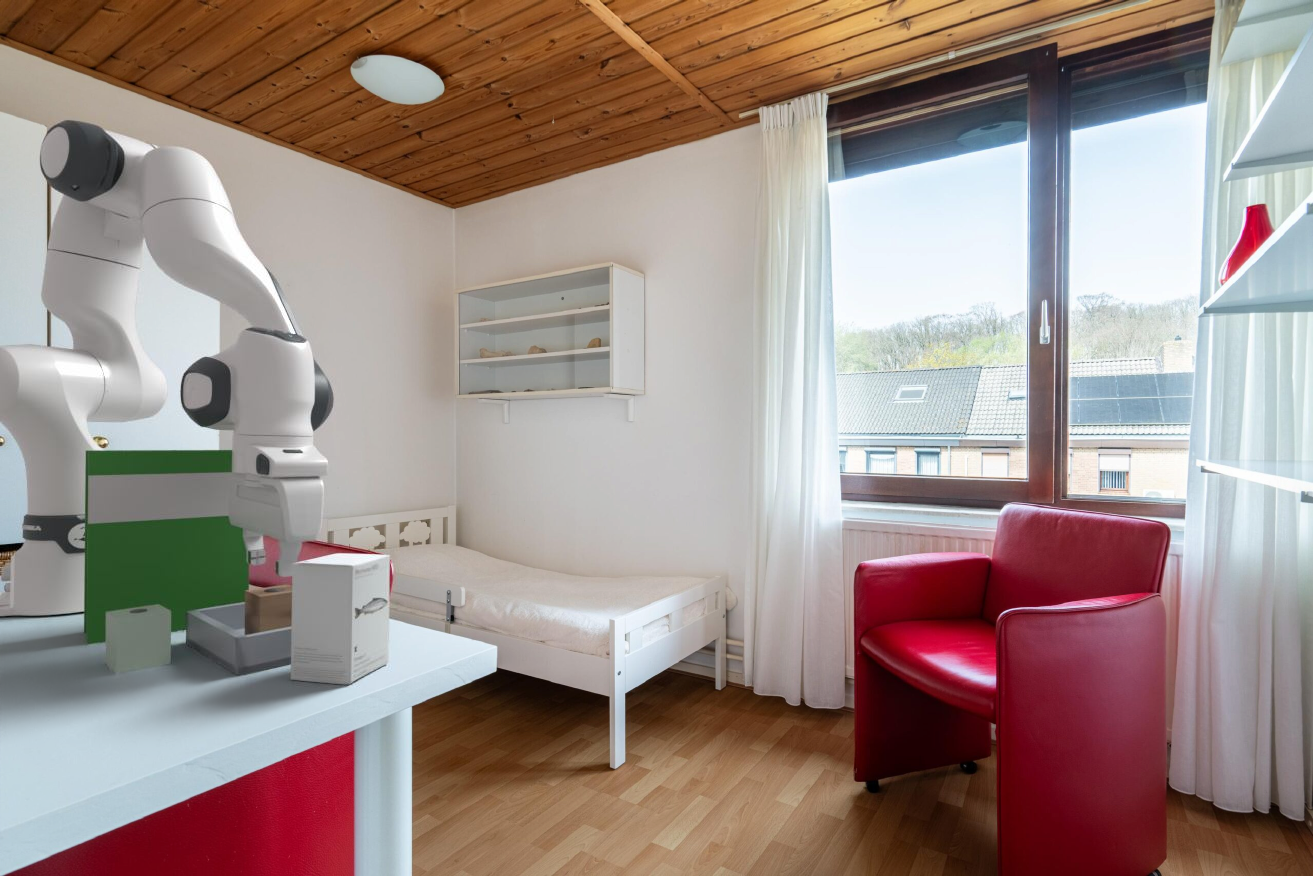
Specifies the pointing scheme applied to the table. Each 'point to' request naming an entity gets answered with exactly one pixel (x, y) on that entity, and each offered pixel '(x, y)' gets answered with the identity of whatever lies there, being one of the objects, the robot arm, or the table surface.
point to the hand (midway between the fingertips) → (270, 569)
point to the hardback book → (159, 534)
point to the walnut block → (268, 609)
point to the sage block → (138, 638)
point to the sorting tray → (236, 640)
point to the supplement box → (339, 617)
